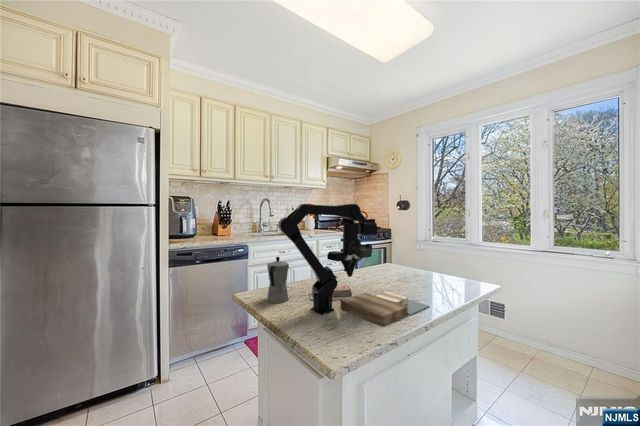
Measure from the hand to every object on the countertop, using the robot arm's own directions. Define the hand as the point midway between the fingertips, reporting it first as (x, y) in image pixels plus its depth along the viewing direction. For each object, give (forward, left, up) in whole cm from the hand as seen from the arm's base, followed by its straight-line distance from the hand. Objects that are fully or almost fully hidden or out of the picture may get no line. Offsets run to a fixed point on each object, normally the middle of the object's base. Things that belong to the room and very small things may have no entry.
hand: (349, 276), depth 101 cm
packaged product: (+2, +14, -13) cm, 19 cm away
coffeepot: (-18, +24, -12) cm, 33 cm away
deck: (+4, -8, -12) cm, 15 cm away
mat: (+18, -8, -12) cm, 23 cm away
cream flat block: (+15, -8, -11) cm, 20 cm away
